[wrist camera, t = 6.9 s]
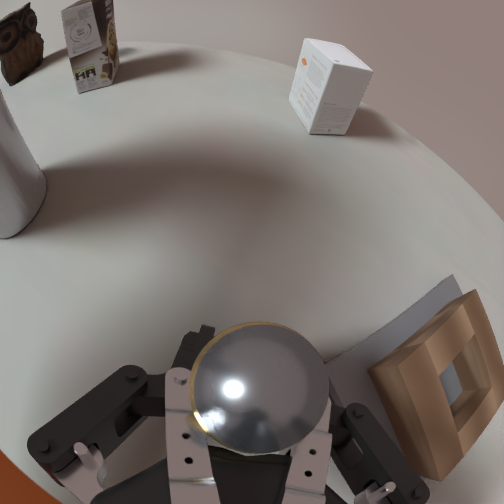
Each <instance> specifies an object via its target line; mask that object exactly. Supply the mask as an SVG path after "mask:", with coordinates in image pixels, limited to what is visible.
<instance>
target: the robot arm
mask: <svg viewBox="0 0 504 504" xmlns="http://www.w3.org/2000/svg"><path fill="white" fill-rule="evenodd" d="M46 188H47V186H46V179H45V177H44V175H43V173H42V172H41V170H40V168H39V166H38V164H37V163H36V161H35V160H34V158H33V156H32V154H31V152H30V151H29V149H28V147H27V145H26V143H25V141H24V139H23V138H22V136H21V134H20V132H19V130H18V128H17V126H16V124H15V122H14V119H13V117H12V115H11V113H10V111H9V109H8V106H7V104H6V102H5V100H4V97H3V95H2V92H1V90H0V238H9V237H11V236H13V235H15V234H17V233H18V232H20V231H21V230H22V229H24V228H25V227H26V226H27V225H28V224H29V222H30V221H31V220H32V219H33V217H34V216H35V215H36V213H37V211H38V210H39V208H40V206H41V204H42V202H43V200H44V197H45V194H46ZM214 332H215V328H214V327H210V326H206V325H202V326H201V329H200V332H199V333H195V332H191V331H190V332H189V333H187V334H186V335H185V336H184V338H183V340H182V343H181V345H180V348H179V350H178V352H177V355H176V357H175V360H174V362H173V365H172V367H171V369H170V370H169V371H167V372H166V373H164V374H160V375H149V374H146V372H145V371H144V370H143V369H142V368H140V367H138V366H135V365H126V366H123V367H121V368H120V369H119V370H117V371H116V372H115V373H113V374H112V375H111V376H109V377H108V378H107V379H105V380H104V381H103V382H101V383H100V384H99V385H97V386H96V387H95V388H93V389H92V390H91V391H89V392H88V393H87V394H86V395H84V396H83V397H82V398H80V399H79V400H77V401H76V402H75V403H73V404H72V405H71V406H69V407H68V408H67V409H65V410H64V411H63V412H61V413H60V414H59V415H57V416H56V417H55V418H53V419H52V420H51V421H49V422H48V423H47V424H45V425H44V426H42V427H41V428H40V429H38V430H37V431H36V432H34V433H33V434H32V435H31V436H30V437H29V438H28V441H27V448H28V451H29V453H30V455H31V456H32V457H33V458H34V459H35V460H36V462H37V463H38V464H39V465H40V466H41V467H42V468H43V469H44V470H45V471H46V472H47V474H48V475H49V476H50V477H51V478H52V479H53V480H54V481H55V482H56V483H57V484H59V485H60V486H62V487H66V488H67V489H68V490H69V491H70V492H71V493H73V494H74V495H75V496H76V497H77V498H78V499H79V500H80V501H82V502H83V503H84V504H347V503H346V502H345V501H344V500H343V499H342V498H341V497H340V496H338V495H337V494H336V493H335V492H334V491H333V490H332V489H331V488H330V487H329V486H328V485H327V484H326V479H327V472H328V466H329V459H330V455H331V457H332V459H333V461H334V462H335V464H336V466H337V467H338V469H339V471H340V472H341V474H342V476H343V477H344V479H345V480H346V482H347V484H348V485H349V487H350V489H351V490H352V492H353V494H354V495H355V499H354V504H425V503H426V502H427V500H428V499H429V496H430V491H429V488H428V487H427V485H426V484H425V483H424V481H423V480H422V479H421V477H420V476H419V475H418V473H417V472H416V471H415V469H414V468H413V467H412V466H411V464H410V463H409V462H408V460H407V459H406V458H405V456H404V455H403V454H402V452H401V451H400V450H399V448H398V447H397V446H396V445H395V443H394V442H393V441H392V439H391V438H390V437H389V435H388V434H387V433H386V431H385V430H384V429H383V427H382V426H381V425H380V424H379V422H378V421H377V420H376V418H375V417H374V416H373V414H372V413H371V412H370V410H369V409H368V408H367V407H366V406H364V405H363V404H360V403H351V404H349V405H348V406H347V407H346V408H343V407H340V406H336V405H333V404H331V400H330V398H329V397H328V402H327V406H326V409H325V411H324V414H323V416H322V418H321V419H320V421H319V423H318V424H317V425H316V427H315V428H314V429H313V430H312V431H311V432H310V433H309V434H308V435H307V436H306V437H305V438H304V439H302V440H301V441H299V442H298V443H296V444H294V445H293V446H290V447H288V448H286V449H283V450H280V451H279V454H266V455H257V456H244V455H241V454H238V453H235V452H232V451H230V450H227V449H224V448H221V447H215V446H210V445H207V439H206V433H205V430H204V429H203V428H202V426H201V425H200V424H199V422H198V420H197V419H196V417H195V415H194V412H193V410H192V407H191V403H190V398H189V379H190V374H191V370H192V368H193V365H194V362H195V360H196V358H197V356H198V355H199V353H200V352H201V351H202V349H203V348H204V347H205V346H206V345H207V343H208V342H209V341H211V340H212V339H213V337H214ZM148 416H159V417H165V439H166V458H165V459H163V460H161V461H159V462H158V463H156V464H154V465H153V466H151V467H149V468H147V469H145V470H144V471H142V472H140V473H138V474H136V475H134V476H132V477H131V478H129V479H127V480H125V481H123V482H121V483H119V484H117V485H115V486H112V487H110V488H108V489H106V490H104V489H103V480H104V478H105V477H106V475H107V473H108V467H107V464H106V462H105V460H104V459H106V458H107V457H108V456H109V455H110V454H111V453H112V452H113V451H114V450H115V449H116V448H117V447H118V446H119V445H120V444H121V443H122V442H123V441H124V440H125V439H126V438H127V437H128V436H129V435H130V434H131V433H132V432H133V431H134V430H135V429H136V428H137V427H138V426H139V425H140V424H141V423H142V422H143V421H144V420H145V419H146V418H147V417H148ZM353 438H354V439H355V441H356V442H357V444H358V445H359V447H360V448H361V450H362V452H363V454H362V453H361V451H360V450H359V448H358V447H357V445H356V444H355V442H354V441H353Z"/></svg>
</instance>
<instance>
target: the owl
mask: <svg viewBox="0 0 504 504" xmlns="http://www.w3.org/2000/svg"><path fill="white" fill-rule="evenodd" d="M36 26H37V17H36V15H35V12H34V11H33V10H32V9H31V8H30V2H29V3H27V4H26V5H24V6H23V7H21V8H20V9H18V10H16V11H14V12H12V13H10V14H8V15H7V16H5V17H4V18H3V19H2V20H0V61H1V71H2V74H3V76H4V78H5V80H6V81H7V83H8V84H9V86H13V85H15V84H16V83H18V82H19V81H21V80H22V79H24V78H25V77H27V76H28V74H29V73H30V72H32V71H34V69H35V68H37V67H38V66H40V65H41V63H42V61H43V50H44V49H43V43H44V41H43V39H42V38H41V34H39V33H37V32H36Z"/></svg>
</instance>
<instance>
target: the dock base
mask: <svg viewBox="0 0 504 504" xmlns="http://www.w3.org/2000/svg"><path fill="white" fill-rule="evenodd" d="M462 295H463V294H462V292H461V290H460V288H459V286H458V284H457V282H456V280H455V278H454V276H453V274H452V275H450V276H449V277H447V278H445V279H444V280H442V281H441V282H440V283H439V284H438V285H437V286H435V287H434V288H433V289H432V290H431V291H429V292H428V293H427V294H426V295H425V296H423V297H422V298H421V299H420V300H418V301H417V302H416V303H415V304H413V305H412V306H411V307H409V308H408V309H407V310H406V311H404V312H403V313H402V314H400V315H399V316H397V317H396V318H395V319H393V320H392V321H391V322H389V323H388V324H386V325H385V326H384V327H382V328H381V329H379V330H378V331H376V332H375V333H373V334H372V335H370V336H369V337H367V338H366V339H364V340H363V341H361V342H360V343H358V344H357V345H355V346H354V347H352V348H350V349H349V350H347V351H346V352H344V353H342V354H341V355H339V356H337V357H336V358H334V359H332V360H331V361H329V362H327V363H326V364H325V366H326V369H327V373H328V378H329V393H330V395H331V397H332V400H333V402H334V404H335V405H336V406H340V407H343V408H346V407H347V406H348V405H349V404H351V403H360V404H363V405H364V406H366V407H367V408H368V409H369V410H370V412H371V413H372V414H373V416H374V417H375V418H376V420H377V421H378V422H379V424H380V425H381V426H382V427H383V429H384V430H385V431H386V433H387V434H388V435H389V437H390V438H391V439H392V441H393V442H394V443H395V445H396V446H397V447H398V448H399V450H400V451H401V452H402V454H403V455H404V453H403V451H402V448H401V446H400V444H399V441H398V439H397V436H396V434H395V432H394V429H393V427H392V424H391V422H390V420H389V418H388V415H387V413H386V411H385V408H384V406H383V404H382V402H381V400H380V397H379V395H378V393H377V391H376V389H375V386H374V384H373V382H372V380H371V378H370V376H369V374H368V371H367V369H369V368H370V367H372V366H373V365H374V364H376V363H377V362H378V361H380V360H381V359H383V358H384V357H385V356H387V355H388V354H389V353H390V352H392V351H393V350H394V349H396V348H397V347H398V346H399V345H401V344H402V343H403V342H404V341H406V340H407V339H408V338H409V337H410V336H412V335H413V334H414V333H415V332H416V331H418V330H419V329H420V328H421V327H422V326H423V325H424V324H426V323H427V322H428V321H429V320H430V319H431V318H432V317H433V316H434V315H435V314H437V313H438V312H439V311H440V310H441V309H442V308H443V307H444V306H445V305H446V304H447V303H448V302H450V301H452V300H454V299H456V298H458V297H460V296H462ZM439 378H440V381H441V384H442V386H443V389H444V392H445V395H446V397H447V400H448V403H449V406H450V405H451V404H452V403H453V402H454V401H455V400H456V398H457V397H458V396H459V395H460V394H461V392H462V388H461V385H460V382H459V379H458V376H457V373H456V370H455V368H454V365H453V362H451V363H450V364H449V365H448V366H447V368H446V369H445V370H444V371H443V372H442V373H441V374H440V375H439ZM353 441H354V442H355V444H356V445H357V447H358V448H359V450H360V451H361V453H362V454H363V452H362V450H361V448H360V447H359V445H358V444H357V442H356V441H355V439H354V438H353ZM420 477H421V479H422V480H423V479H424V478H425V477H422V476H420Z"/></svg>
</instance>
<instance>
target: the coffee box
mask: <svg viewBox="0 0 504 504" xmlns="http://www.w3.org/2000/svg"><path fill="white" fill-rule="evenodd" d="M61 14H62V21H63V28H64V34H65V39H66V45H67V49H68V54H69V59H70V63H71V67H72V72H73V76H74V79H75V83H76V87H77V91H78V93H82V92H85V91H89V90H93V89H96V88H100V87H105V86H109V85H111V84H112V83H113V80H114V77H115V75H116V72H117V70H118V67H119V65H120V62H119V54H118V47H117V39H116V31H115V22H114V8H113V0H81V1H78V2H76V3H74V4H73V5H71V6H69V7H68V8H66V9H64V10H62V11H61Z"/></svg>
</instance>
